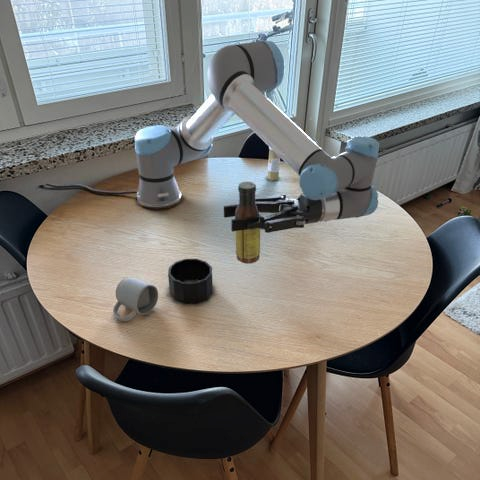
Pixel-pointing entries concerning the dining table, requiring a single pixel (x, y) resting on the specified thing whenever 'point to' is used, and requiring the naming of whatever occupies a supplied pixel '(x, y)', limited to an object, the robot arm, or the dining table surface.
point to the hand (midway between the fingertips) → (228, 218)
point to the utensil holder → (190, 290)
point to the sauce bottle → (251, 237)
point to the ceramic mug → (135, 297)
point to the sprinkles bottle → (273, 165)
